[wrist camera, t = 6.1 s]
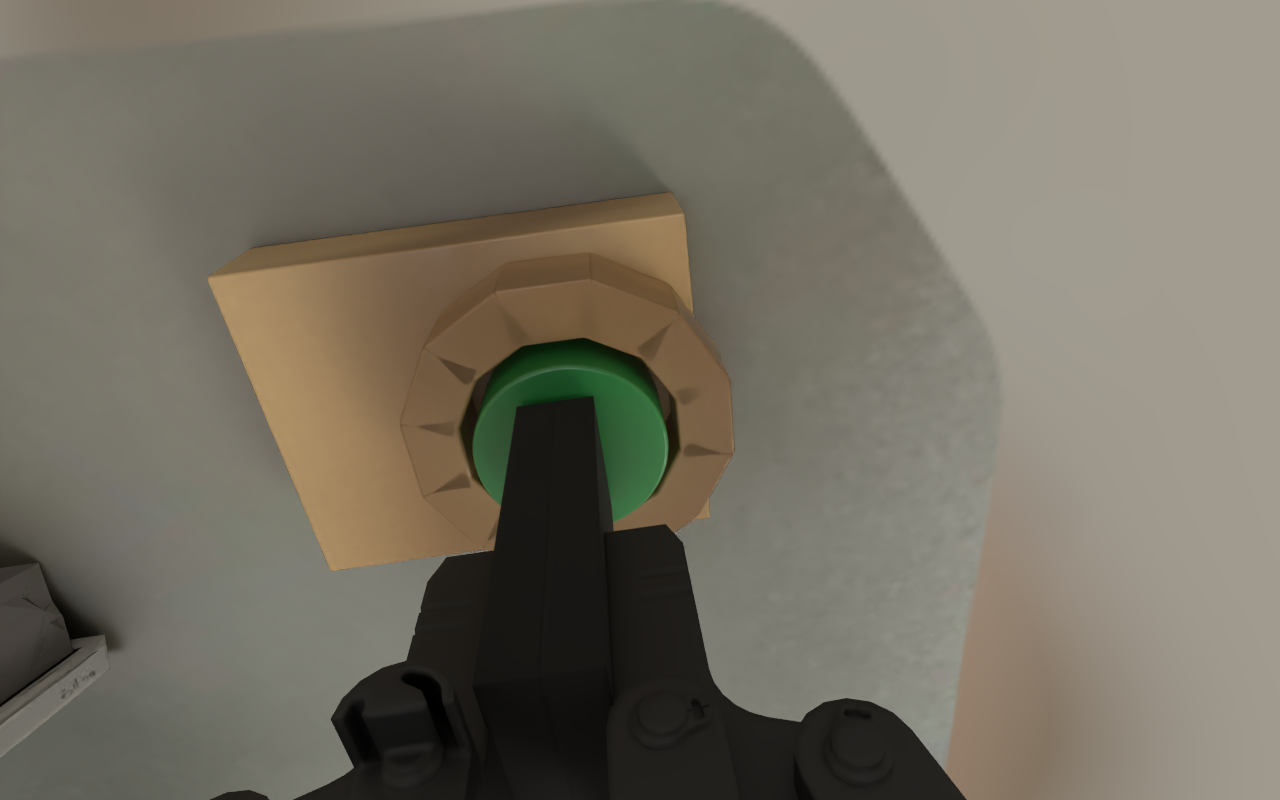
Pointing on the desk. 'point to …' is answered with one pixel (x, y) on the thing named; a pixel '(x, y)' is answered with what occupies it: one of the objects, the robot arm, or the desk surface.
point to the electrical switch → (38, 656)
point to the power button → (573, 373)
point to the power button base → (463, 361)
